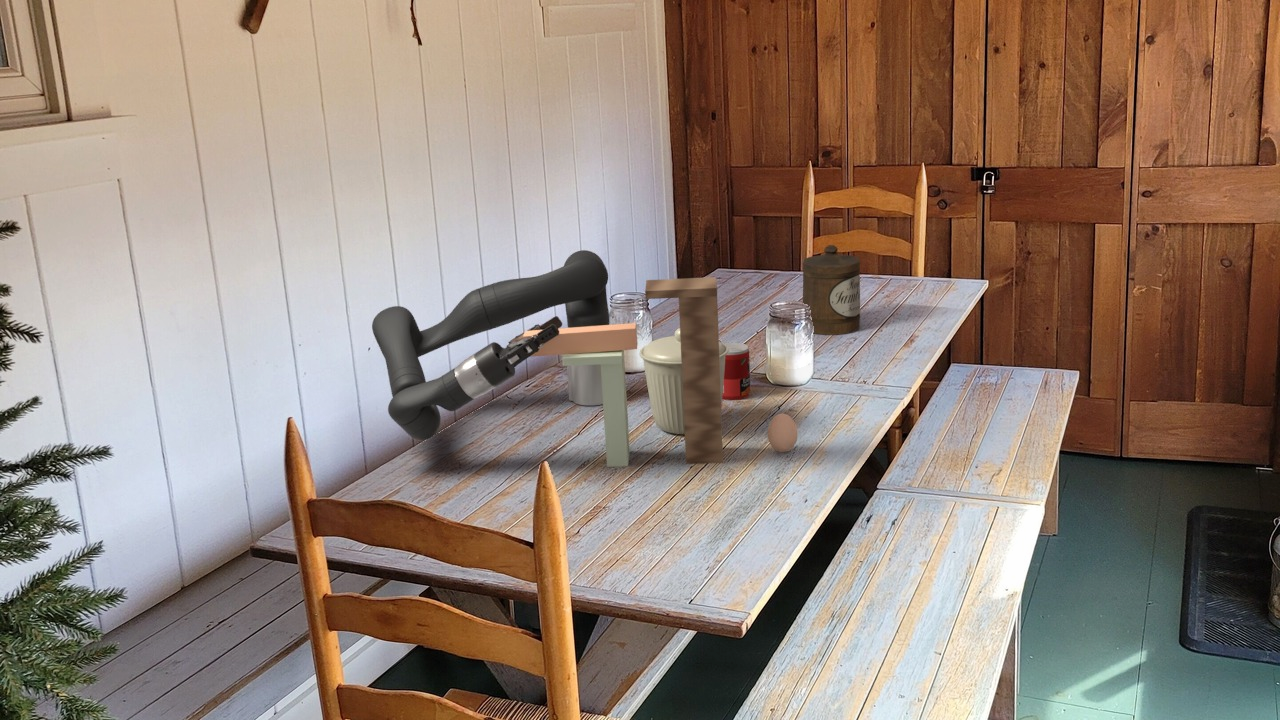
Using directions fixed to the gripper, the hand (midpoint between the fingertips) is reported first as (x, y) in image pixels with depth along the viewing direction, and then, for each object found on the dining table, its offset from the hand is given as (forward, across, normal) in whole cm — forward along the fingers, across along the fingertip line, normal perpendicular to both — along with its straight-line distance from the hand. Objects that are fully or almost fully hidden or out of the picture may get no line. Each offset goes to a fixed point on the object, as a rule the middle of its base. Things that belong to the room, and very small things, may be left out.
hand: (558, 324), depth 225 cm
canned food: (+15, +37, +40) cm, 57 cm away
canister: (+6, +17, +35) cm, 40 cm away
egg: (+22, +1, +45) cm, 50 cm away
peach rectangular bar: (+1, 0, +6) cm, 7 cm away
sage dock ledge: (-8, 0, +27) cm, 28 cm away
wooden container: (+40, +90, +55) cm, 112 cm away
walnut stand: (+7, 0, +35) cm, 36 cm away
